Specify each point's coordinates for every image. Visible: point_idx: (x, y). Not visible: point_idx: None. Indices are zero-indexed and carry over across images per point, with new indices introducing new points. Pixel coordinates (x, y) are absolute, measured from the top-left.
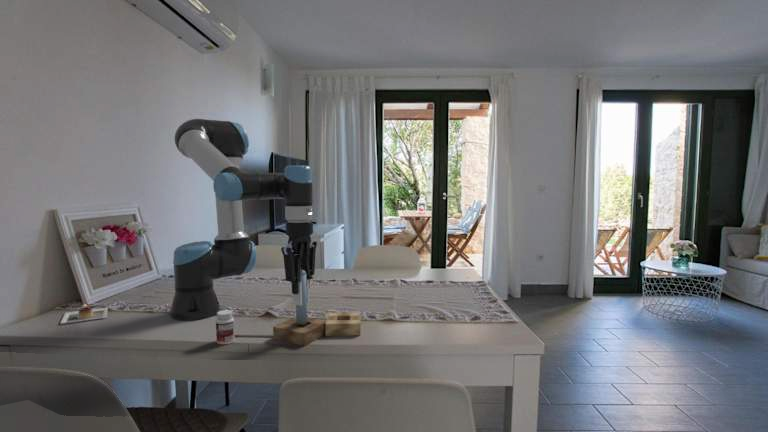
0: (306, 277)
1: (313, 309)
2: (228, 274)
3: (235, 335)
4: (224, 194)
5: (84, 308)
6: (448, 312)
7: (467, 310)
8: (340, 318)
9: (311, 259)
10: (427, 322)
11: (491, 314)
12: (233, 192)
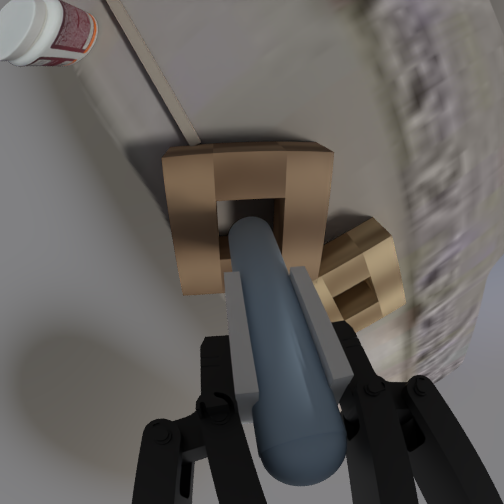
0: (344, 411)
1: (460, 104)
2: None
3: (117, 19)
4: None
5: None
6: (444, 349)
7: (449, 357)
8: (368, 277)
9: (428, 493)
10: (404, 356)
11: (432, 378)
12: None
